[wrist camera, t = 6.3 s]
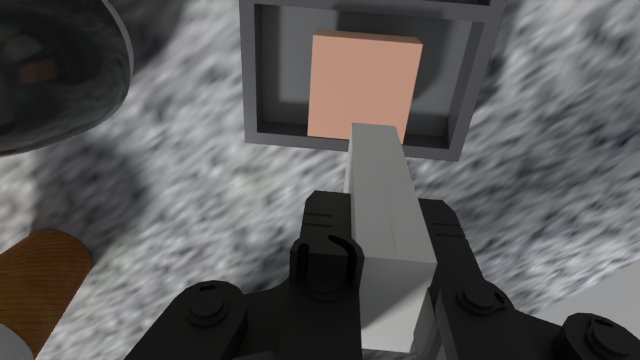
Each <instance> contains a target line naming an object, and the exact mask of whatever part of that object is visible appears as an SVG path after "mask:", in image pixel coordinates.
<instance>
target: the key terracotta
mask: <svg viewBox="0 0 640 360" xmlns="http://www.w3.org/2000/svg"><path fill="white" fill-rule="evenodd" d="M422 47H423V44H422V43H421V42H420V41H419V39H418V38H417V37H407V36H395V35H383V34H371V33H359V32H347V31H335V30H323V29H316V30H315V32H314V34H313V45H312V63H311V81H310V99H309V118H308V136H315V137H326V138H338V139H349V140H350V132H351V123H364V124H376V125H388V126H396V129H397V133H398V136H399V139H400V142H401V144H403V139H404V135H405V130H406V125H407V120H408V115H409V110H410V105H411V100H412V96H413V91H414V86H415V81H416V76H417V71H418V66H419V62H420V57H421V52H422Z"/></svg>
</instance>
